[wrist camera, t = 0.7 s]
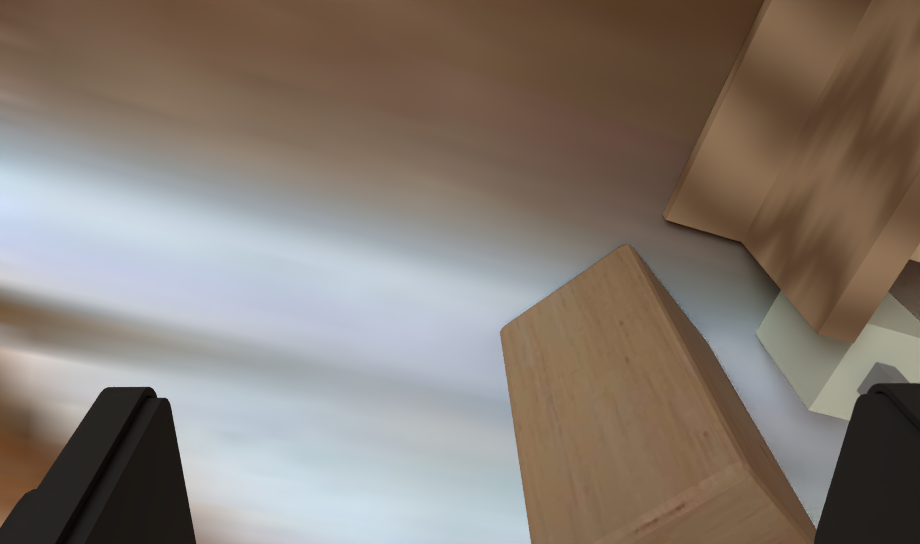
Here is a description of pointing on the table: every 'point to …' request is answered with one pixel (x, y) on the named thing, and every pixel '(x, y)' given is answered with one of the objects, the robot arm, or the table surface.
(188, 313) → the table surface
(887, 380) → the cabinet
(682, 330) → the wooden block
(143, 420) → the robot arm
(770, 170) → the brown box
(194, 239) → the table surface
